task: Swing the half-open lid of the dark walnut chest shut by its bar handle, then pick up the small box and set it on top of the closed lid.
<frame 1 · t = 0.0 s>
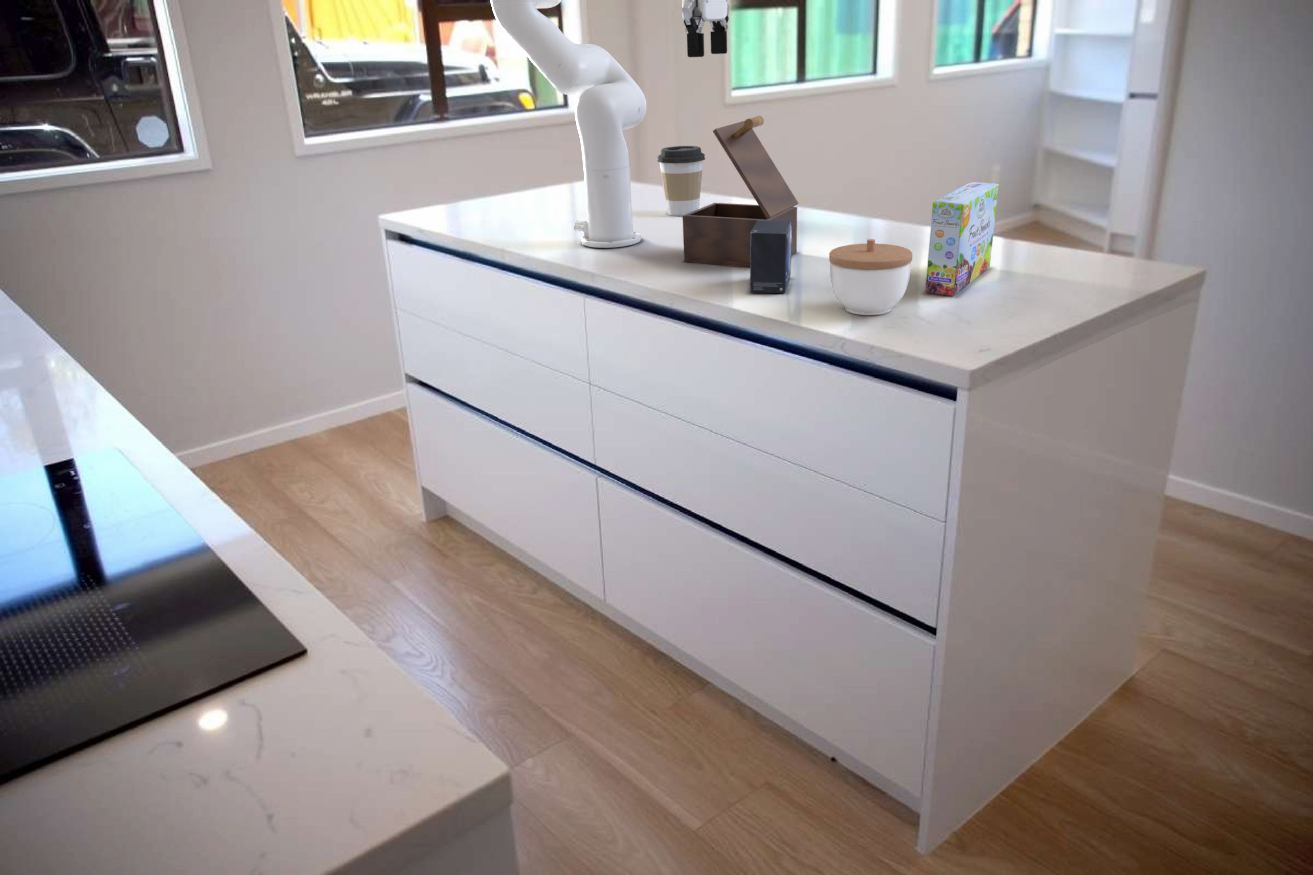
hand: (707, 55, 186), 37 cm above the worktop, tool pointing down, fingers open, 9 cm apart
coffee cup: (683, 214, 238), on the worktop
lidded bowl: (868, 310, 158), on the worktop
lid: (766, 161, 184), point 18 cm above the worktop, hinge at 55.0°
snack box: (959, 281, 171), on the worktop
small box: (771, 287, 173), on the worktop
chest: (740, 257, 194), on the worktop
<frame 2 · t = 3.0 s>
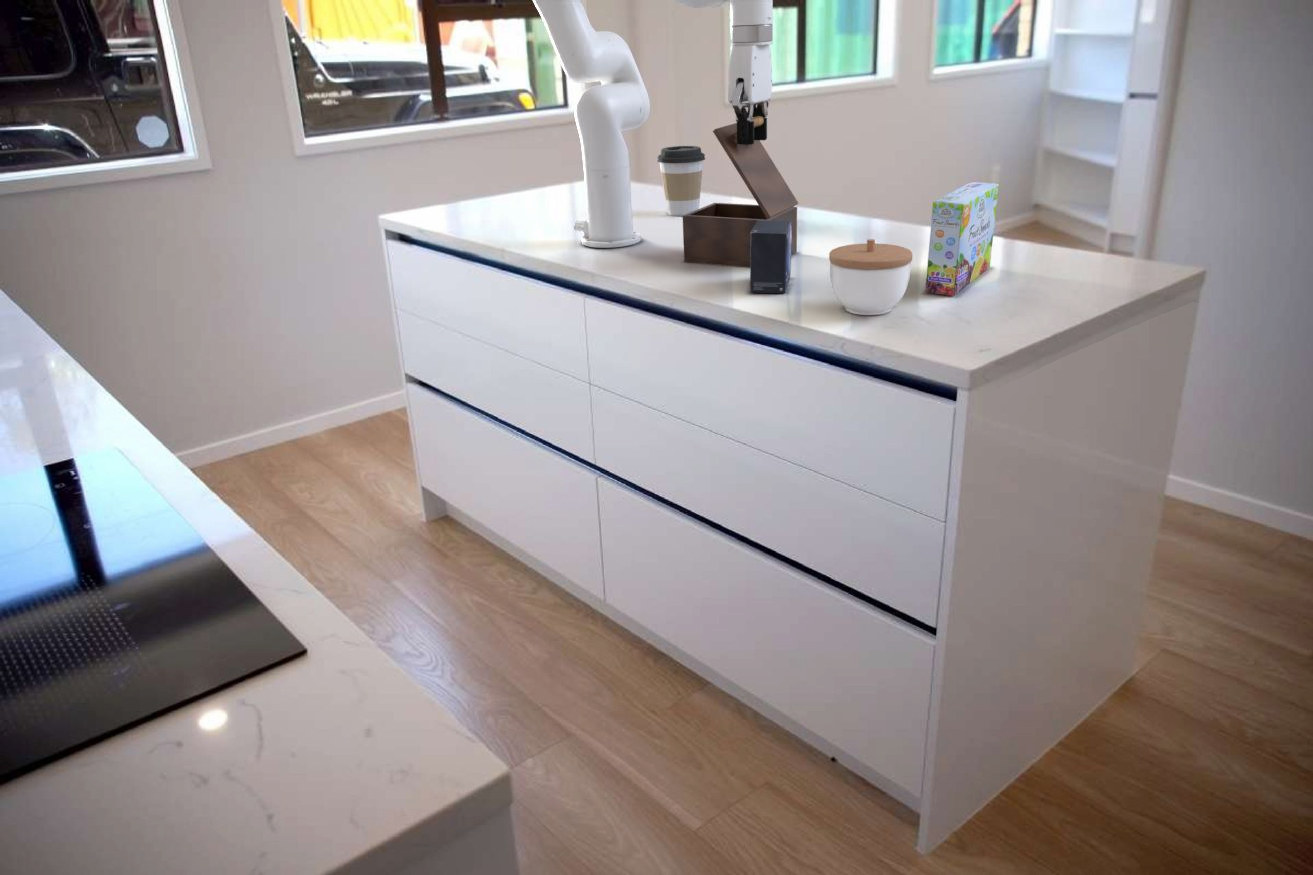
hand: (752, 141, 184), 22 cm above the worktop, tool pointing down, fingers closed on lid, 5 cm apart
lid: (766, 161, 184), point 18 cm above the worktop, hinge at 55.0°, touching gripper
everything else where it was.
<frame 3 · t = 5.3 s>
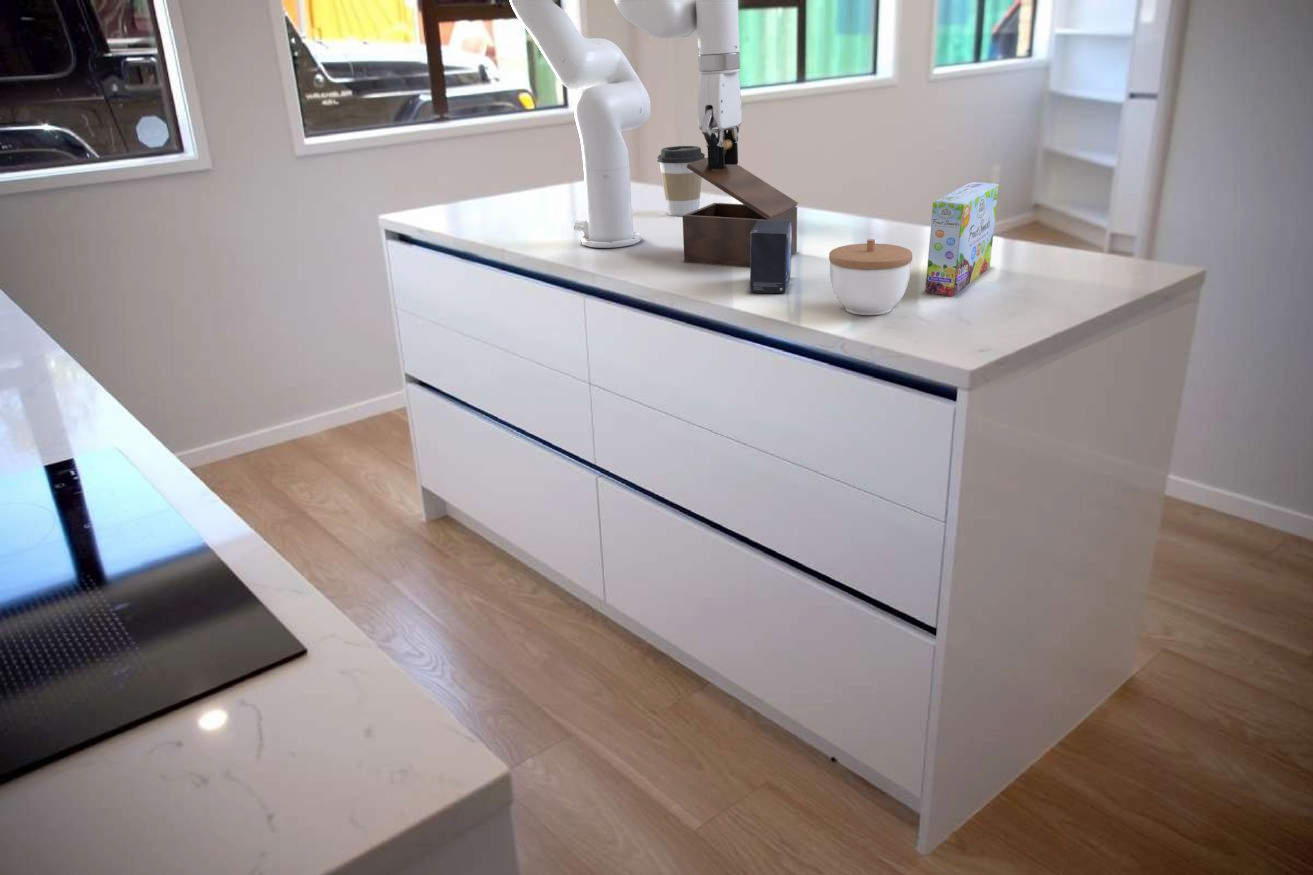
hand: (723, 165, 189), 17 cm above the worktop, tool pointing down, fingers closed on lid, 5 cm apart
lid: (748, 174, 187), point 16 cm above the worktop, hinge at 28.3°, touching gripper
everything else where it was.
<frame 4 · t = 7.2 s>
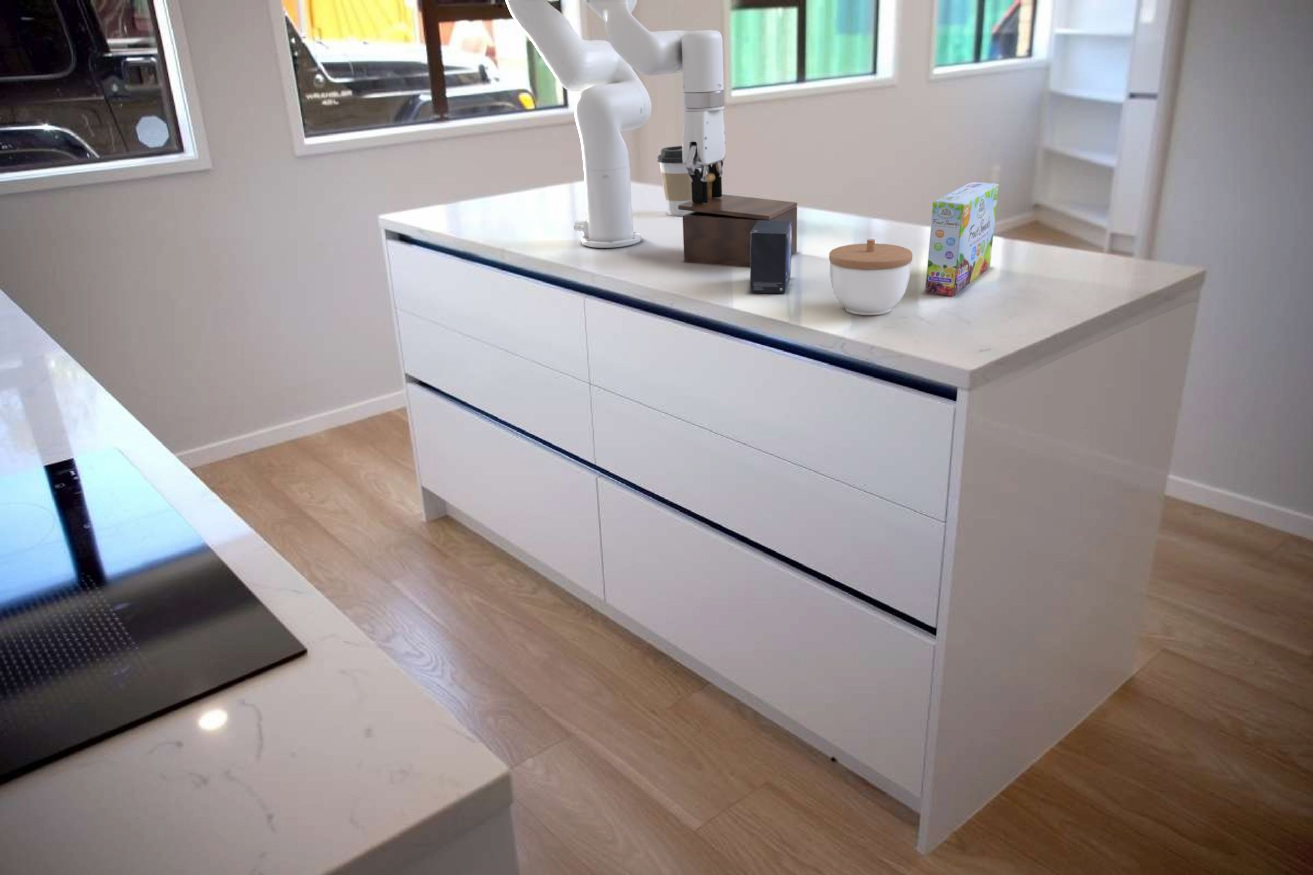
hand: (707, 199, 193), 11 cm above the worktop, tool pointing down, fingers open, 5 cm apart
lid: (738, 193, 189), point 12 cm above the worktop, hinge at 3.2°
everything else where it was.
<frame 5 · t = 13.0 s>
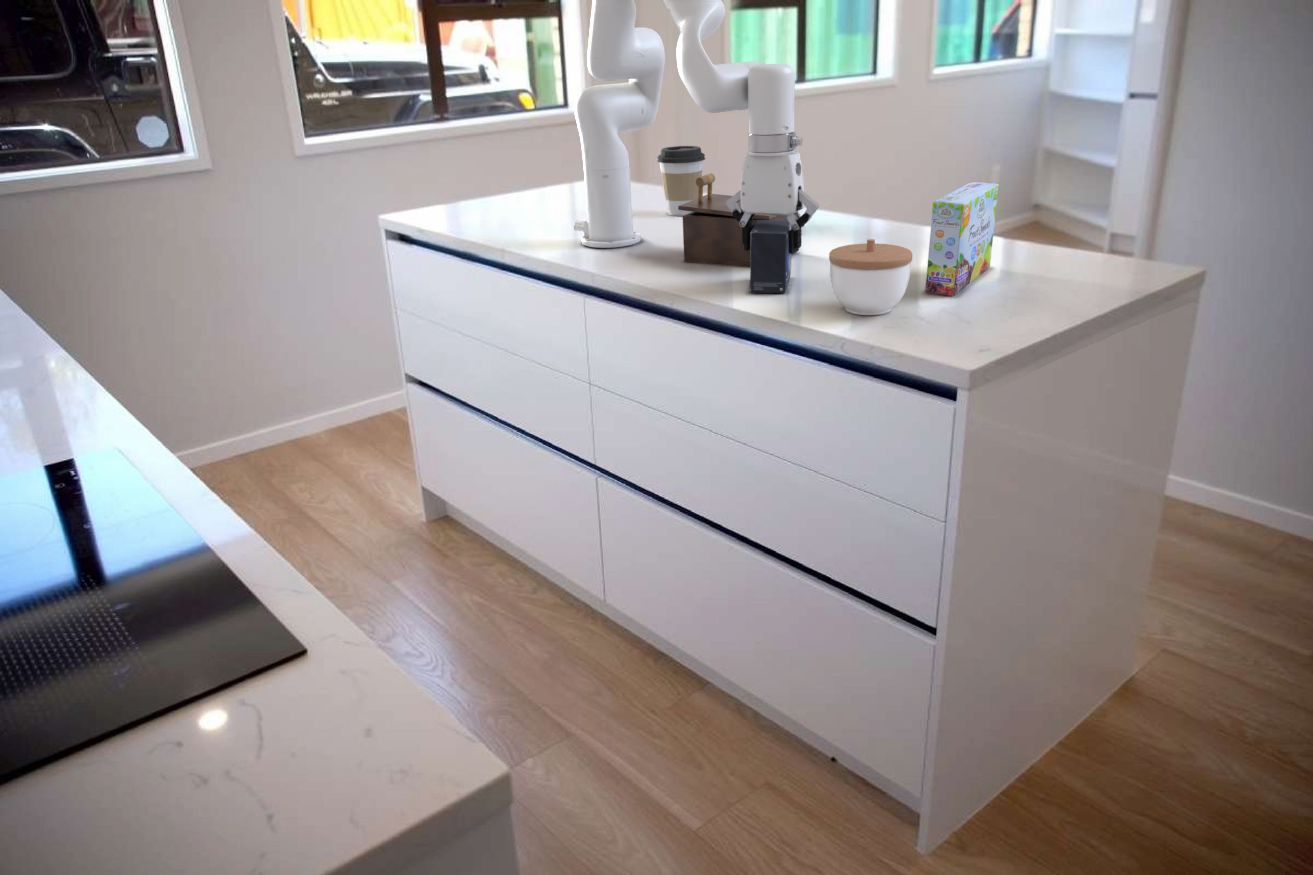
hand: (771, 250, 171), 6 cm above the worktop, tool pointing down, fingers closed on small box, 7 cm apart
small box: (771, 287, 173), on the worktop, touching gripper
everything else where it was.
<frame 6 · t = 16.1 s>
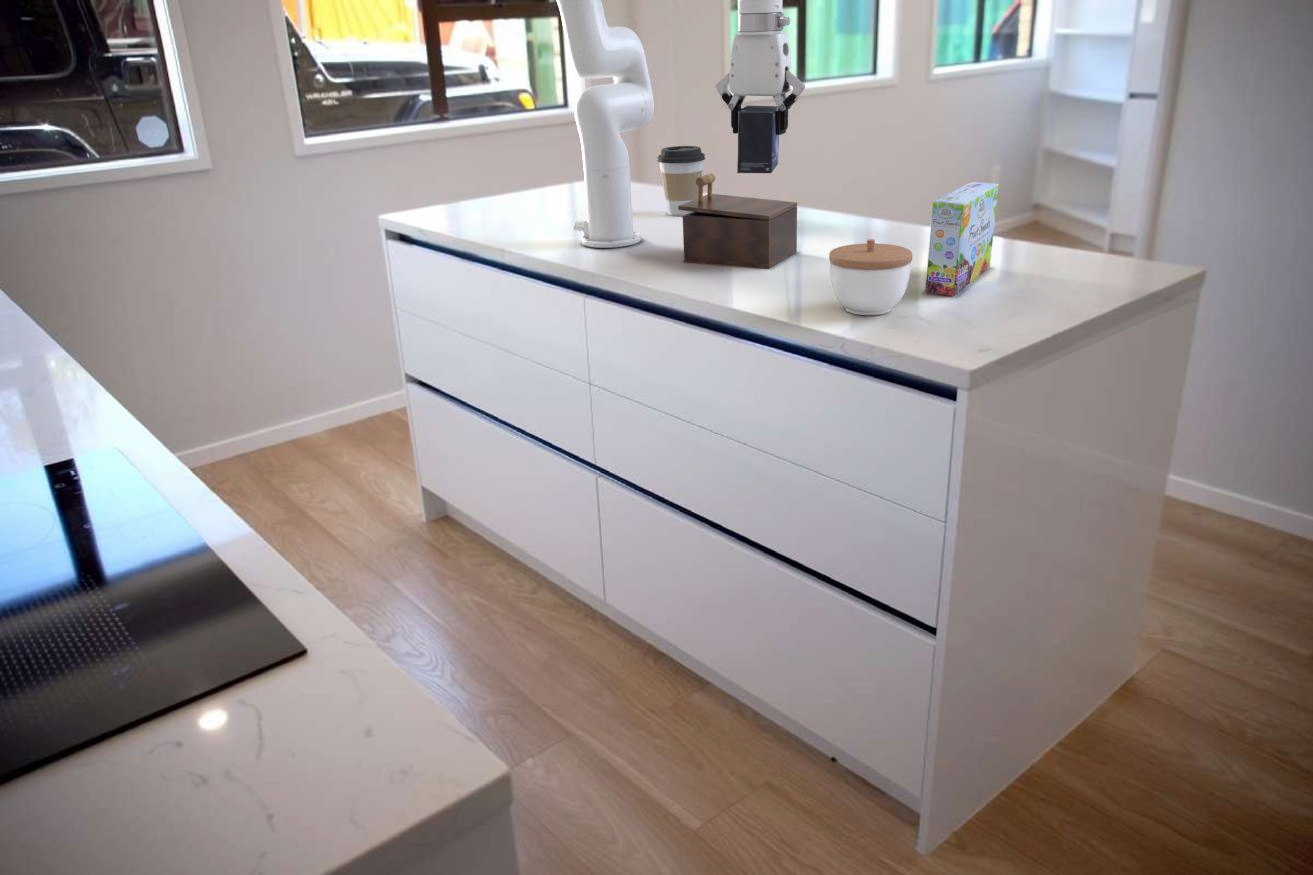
hand: (759, 132, 176), 24 cm above the worktop, tool pointing down, fingers closed on small box, 7 cm apart
small box: (758, 170, 178), point 18 cm above the worktop, touching gripper
everything else where it was.
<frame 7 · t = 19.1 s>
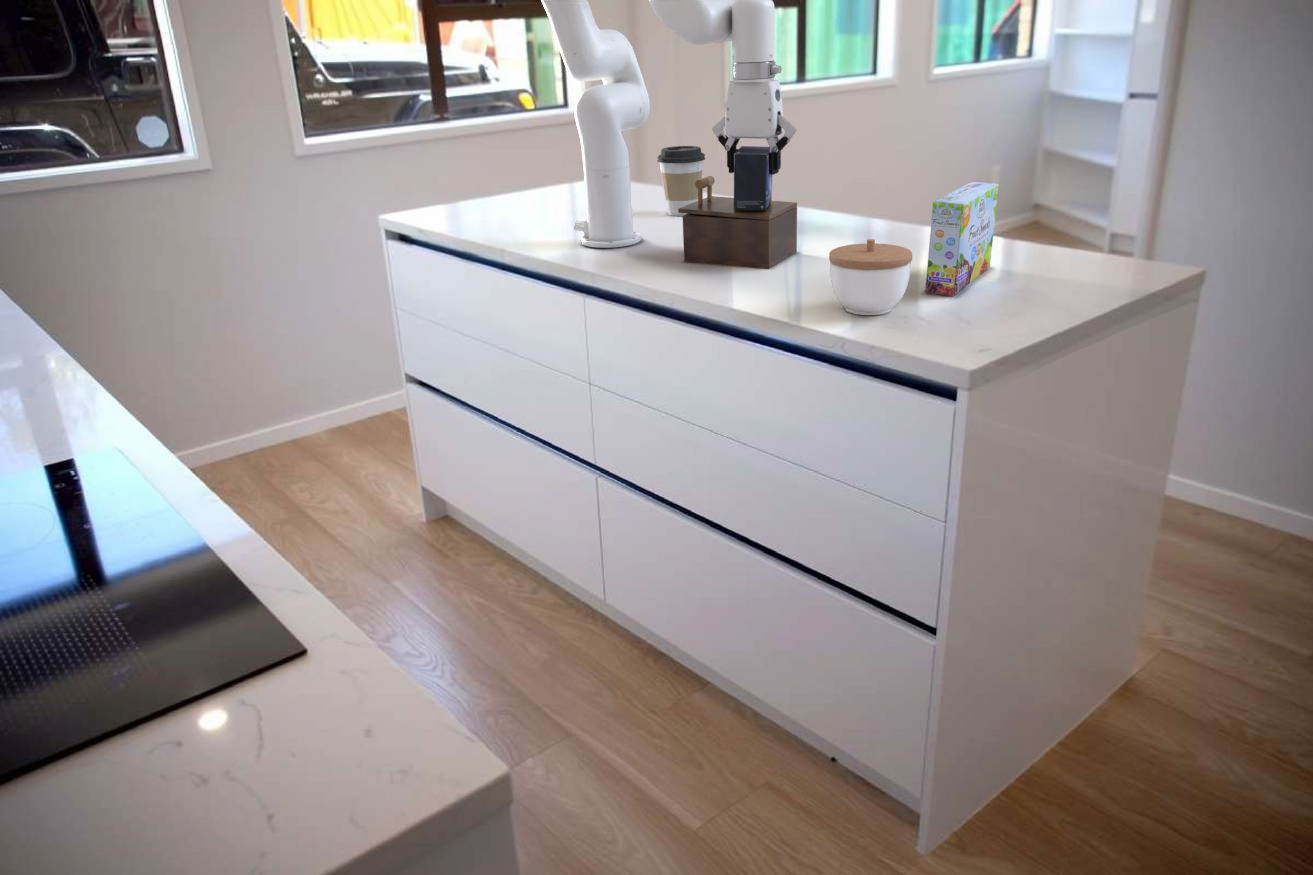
hand: (753, 172, 186), 16 cm above the worktop, tool pointing down, fingers closed on small box, 7 cm apart
lid: (738, 195, 189), point 12 cm above the worktop, hinge at 1.4°, touching small box
small box: (753, 207, 189), point 10 cm above the worktop, touching gripper, lid
everything else where it was.
when the fingers open (16 cm above the worktop, at t = 19.4 s): small box stays where it is, resting on lid.
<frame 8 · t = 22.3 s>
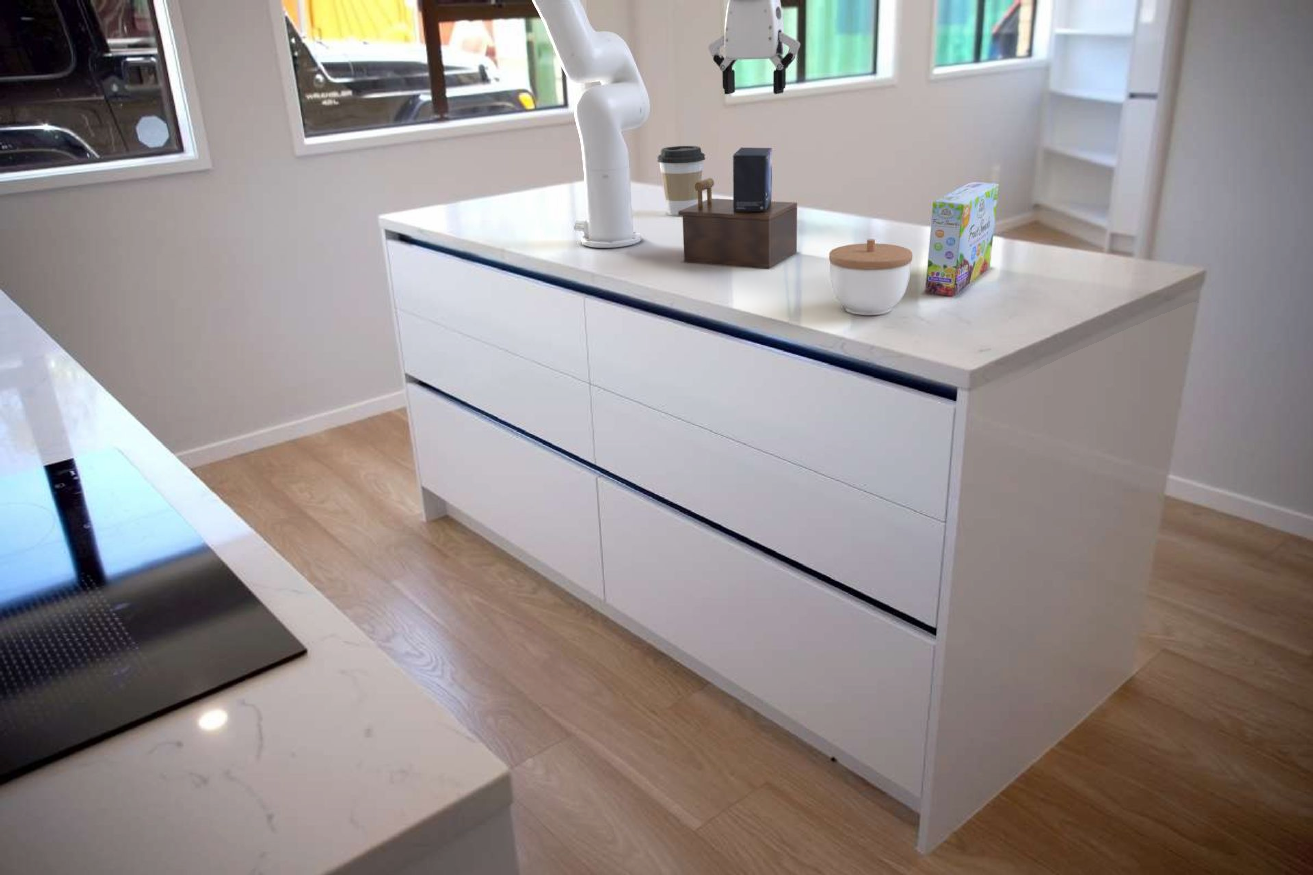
hand: (753, 93, 181), 30 cm above the worktop, tool pointing down, fingers open, 9 cm apart
lid: (737, 196, 190), point 12 cm above the worktop, hinge at -0.2°, touching small box
small box: (753, 208, 189), point 10 cm above the worktop, touching lid
everything else where it was.
at the end: lid at +0° (first picture: +55°); small box inside the target area on the chest (1.7 cm from its centre), point 9.5 cm above the chest's base; small box tilted 0° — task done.
